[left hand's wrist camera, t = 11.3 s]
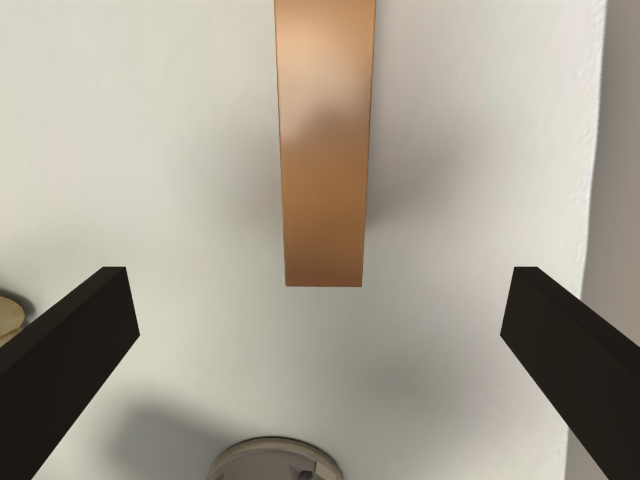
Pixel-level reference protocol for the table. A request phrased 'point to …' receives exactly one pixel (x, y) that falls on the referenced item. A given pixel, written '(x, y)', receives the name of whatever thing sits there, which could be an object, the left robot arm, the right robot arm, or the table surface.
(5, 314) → the sculpture
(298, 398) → the table surface
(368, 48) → the beam
